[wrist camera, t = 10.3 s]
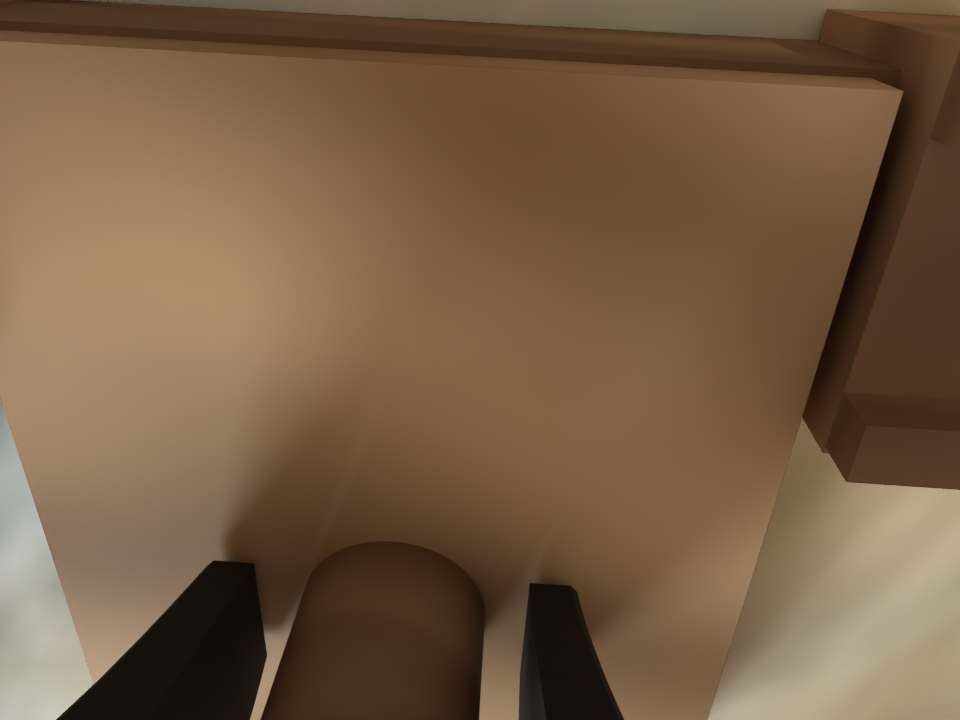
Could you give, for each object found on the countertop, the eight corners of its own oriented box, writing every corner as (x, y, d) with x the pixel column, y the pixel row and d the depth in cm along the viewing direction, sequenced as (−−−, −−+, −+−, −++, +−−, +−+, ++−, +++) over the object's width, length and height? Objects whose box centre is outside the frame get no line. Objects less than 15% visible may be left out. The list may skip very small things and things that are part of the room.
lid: (646, 856, 16) (676, 1080, 13) (166, 818, 16) (80, 1029, 13) (871, 77, 8) (1088, 166, 5) (-65, 26, 8) (-417, 79, 5)
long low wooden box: (716, 751, 18) (766, 961, 14) (-311, 673, 19) (-518, 855, 15) (960, 16, 10) (1218, 63, 6) (-861, -81, 11) (-1604, -91, 7)
